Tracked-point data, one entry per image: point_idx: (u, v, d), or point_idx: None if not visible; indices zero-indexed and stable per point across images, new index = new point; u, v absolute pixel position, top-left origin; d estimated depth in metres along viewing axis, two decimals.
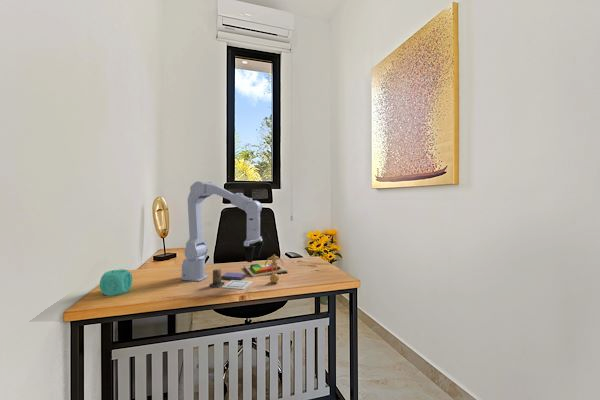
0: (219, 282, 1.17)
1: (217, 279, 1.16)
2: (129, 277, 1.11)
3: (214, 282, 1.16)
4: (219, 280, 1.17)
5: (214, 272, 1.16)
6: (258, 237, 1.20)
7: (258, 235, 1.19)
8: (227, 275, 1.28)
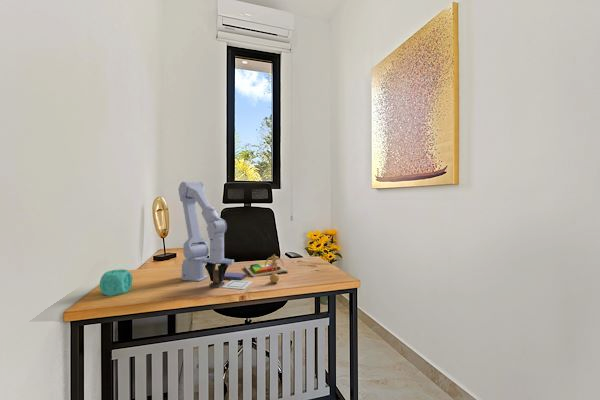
0: (219, 282, 1.17)
1: (217, 279, 1.16)
2: (129, 277, 1.11)
3: (214, 282, 1.16)
4: None
5: (214, 272, 1.16)
6: (212, 258, 1.15)
7: (211, 256, 1.15)
8: (227, 275, 1.28)
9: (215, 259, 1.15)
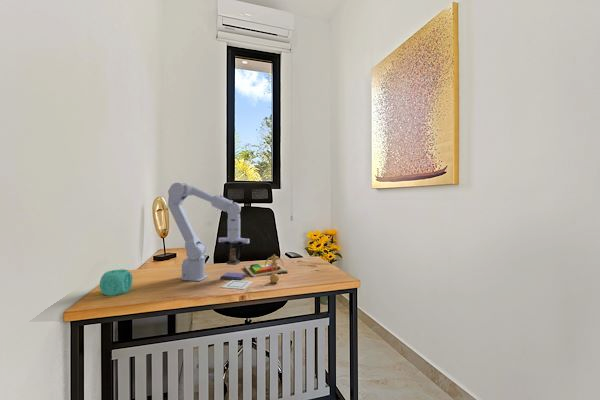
0: (235, 260, 1.27)
1: (234, 257, 1.27)
2: (129, 277, 1.11)
3: (231, 260, 1.27)
4: (235, 258, 1.27)
5: (231, 251, 1.27)
6: (229, 237, 1.26)
7: (229, 235, 1.26)
8: (227, 275, 1.28)
9: (232, 238, 1.26)
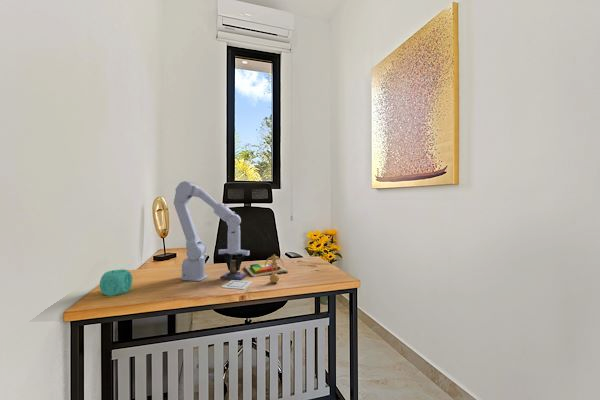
0: (235, 272, 1.27)
1: (234, 269, 1.27)
2: (129, 277, 1.11)
3: (231, 271, 1.27)
4: (235, 270, 1.27)
5: (231, 262, 1.27)
6: (229, 249, 1.26)
7: (229, 247, 1.26)
8: None
9: (233, 250, 1.26)
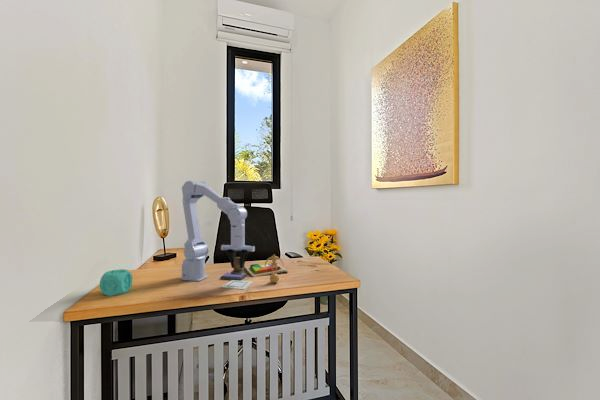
0: (240, 269, 1.18)
1: (238, 266, 1.17)
2: (129, 277, 1.11)
3: (235, 269, 1.17)
4: None
5: (235, 259, 1.17)
6: (233, 245, 1.16)
7: (232, 242, 1.16)
8: (227, 275, 1.28)
9: (236, 245, 1.16)
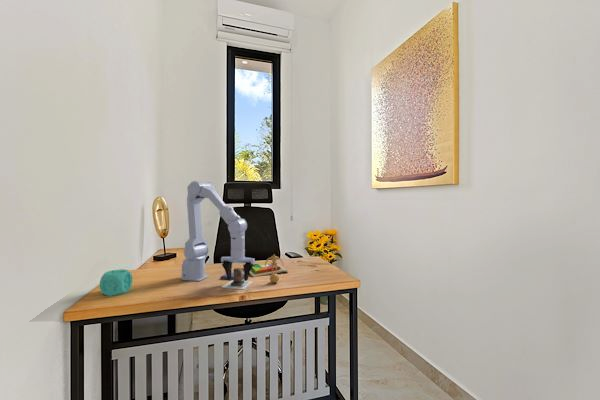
0: (240, 281, 1.18)
1: (238, 278, 1.17)
2: (129, 277, 1.11)
3: (235, 281, 1.17)
4: (240, 279, 1.18)
5: (235, 271, 1.17)
6: (233, 257, 1.16)
7: (232, 255, 1.16)
8: None
9: (236, 258, 1.16)
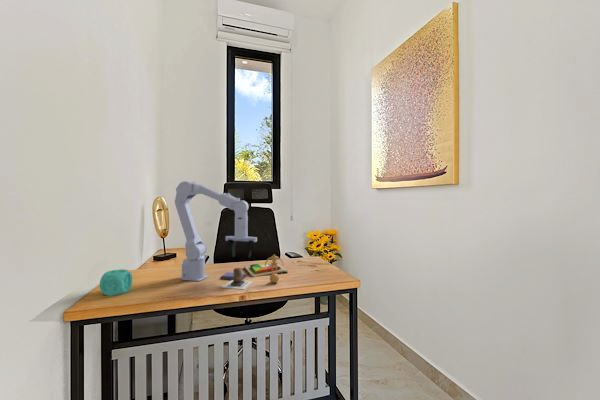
0: (240, 281, 1.18)
1: (238, 278, 1.17)
2: (129, 277, 1.11)
3: (235, 281, 1.17)
4: (240, 279, 1.18)
5: (235, 271, 1.17)
6: (237, 235, 1.24)
7: (236, 233, 1.24)
8: (227, 275, 1.28)
9: (240, 236, 1.24)
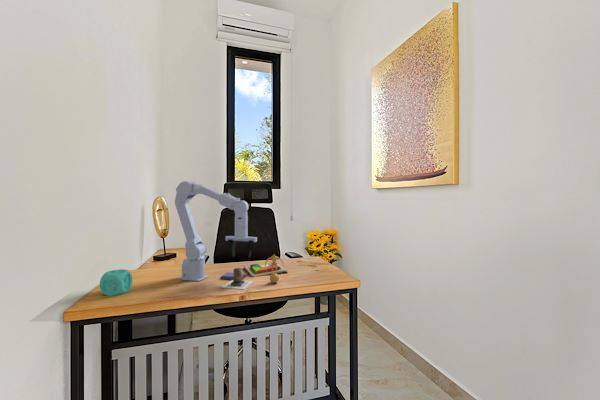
0: (240, 281, 1.18)
1: (238, 278, 1.17)
2: (129, 277, 1.11)
3: (235, 281, 1.17)
4: (240, 279, 1.18)
5: (235, 271, 1.17)
6: (237, 235, 1.24)
7: (236, 233, 1.24)
8: (227, 275, 1.28)
9: (240, 236, 1.24)
